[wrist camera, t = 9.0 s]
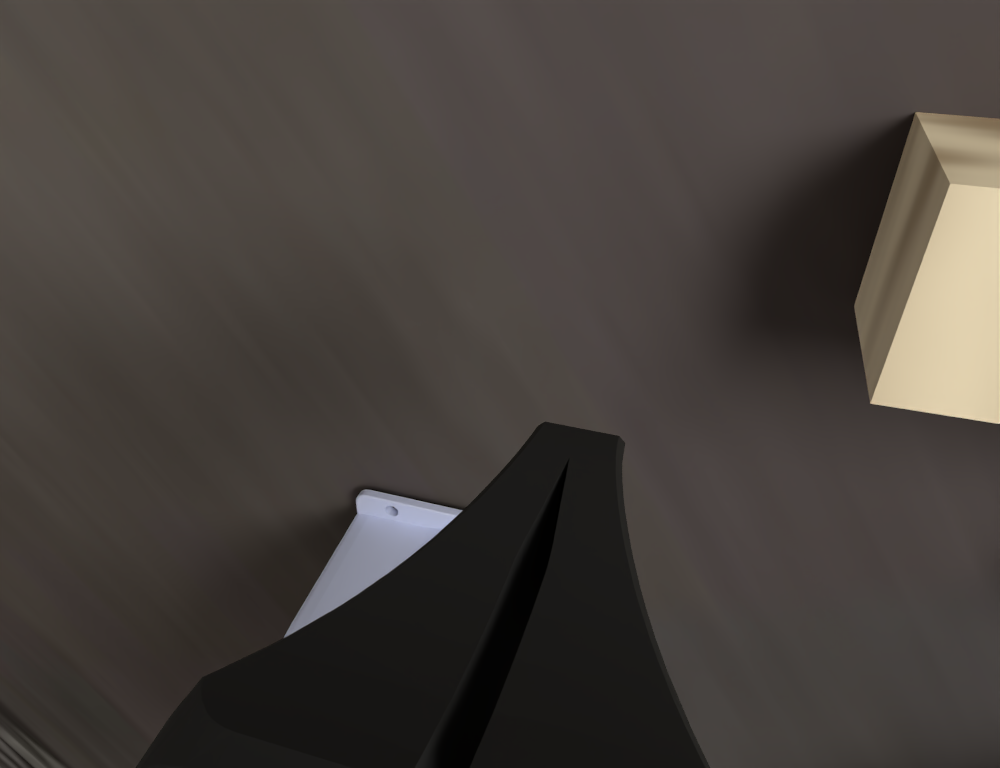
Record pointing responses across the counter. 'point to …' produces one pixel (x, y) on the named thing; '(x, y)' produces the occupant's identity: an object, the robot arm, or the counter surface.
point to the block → (937, 275)
